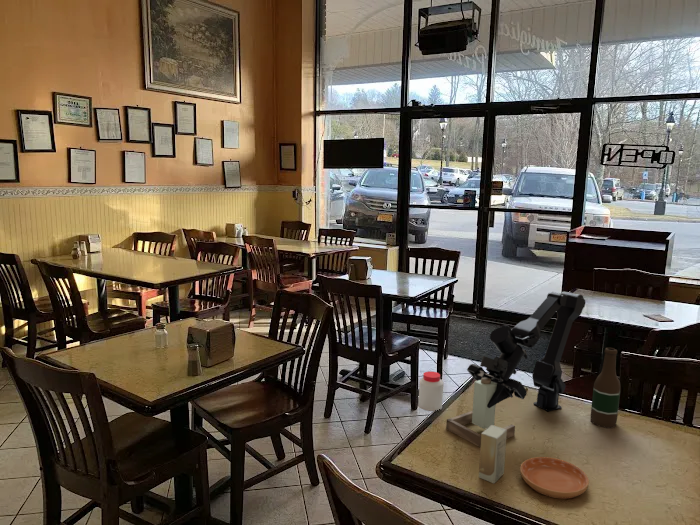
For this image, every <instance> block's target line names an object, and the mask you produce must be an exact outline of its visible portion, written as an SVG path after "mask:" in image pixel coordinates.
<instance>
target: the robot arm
mask: <svg viewBox="0 0 700 525" xmlns="http://www.w3.org/2000/svg"><path fill="white" fill-rule="evenodd" d="M585 306H586V300H585V298H584V296H583V295H582V294H580V293H573V292H570V291H569V292H568V291H564V290H562V291H561V292H555V291H552V292H551V291H550V292H548V294H547V295H546V298H545V299H544V300H543V301H542V303H541V304H539V306H538V307H537V308H536V309H535V311H534V312H533V313H532V314H531V315H530V316H529V317H528V318H527V319H524V320H521V321H519V322H518V323H517V324H516V325H514V326H513V328H511V327H510V326H509V325H507V324H502V325H501V326H500V327H497V328H495V329H493V330H492V331H491V332H490V335H489V339H490V341H491V342H492V344H493V345H494V346H495V348H496V349H497V350H498V352H499V353H501V354H500V355H499V357H497V356H496V357H494V358H490V357H488V356H485V355H483V357H482V359H481V362H480V365H477V364H474V363H470V364H469V366H468V367H467V369H466V370H467V372H468V373H469V375H471V377H472V378H473V380H475V381H478V380H481V378H489V379H491V381H492V382H495V383H497V388H496V391H495V393H494V394H493V396H492V397H491V399H490V401H489V403H488V405H487V407H488V408H491V407H492V406H494V405H496V406H497V404H499V403H500V402H503V401H506V400H507V399H509V398H511V399H512V398H514V396H515V397H516V398H519V399H521V400H525V398H526V396H527V393H528V392H527V389H526V388H525V386H524V385H523V384H522V381H519V380H516V379H514V378H511V377H512V375H516V374H517V370H516V369H517V367H518V366H519V365H520V362H521V360H522V359H524V360H527V359H528V354H527V349H525V348H529V349H531V348H533V347H535V345H536V344H537V343H538V341H539V340H540V339H541V331H542V329H543V328H544V327H545V326H546V324H547V323H548V322H549V321H550V320H551V319H552V318H553V316H554V315H555V314H556V315H557V318H556V320H555V323H554V326H553V330H552V333H551V335H550V338H549V342H548V344H547V348H546V352H545V355H544V357H543V358H542V359H541V360H536V362H535V366H534V368H533V370H532V381H533V386H534V387H537V390H538V392H537V397H536V401H535V402H533V405H535V407H536V406H537V407H538V408H541V409H543V410H544V411H546V412H551V411H555V410H559V409H562V408H563V407H562V405H560V404H559V399H560V398H559V396H560V394H561V395H563V393H564V392H565V390H566V386H567V385H566V383H565V382H564V381H563V379H562V376H563V375H562V374H563V370H562V366H561V364H560V363H561V360H562V357H563V354H564V351H565V347H566V345H567V341H568V338H569V335H570V332H571V329H572V325H573V323H574V321H575V320H577V318H578V317H580V316H581V314H582V312H583V310H584V308H585ZM523 347H525V348H523ZM483 367H484V368H485V369H484V368H483ZM485 370H486V371H487V372H486V371H485ZM513 394H514V395H513Z"/></svg>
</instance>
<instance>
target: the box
mask: <svg viewBox="0 0 700 525" xmlns="http://www.w3.org/2000/svg"><path fill="white" fill-rule="evenodd" d="M472 413H473V410H470V411H467V412H465V413H462V414H458V415H456V416H453V417H450V418H447V419H446V424H445V425H446V426H445V430H447V431H449V432H451V433H452V434H455V435H457V436H458V437H460V438H462V439H464V440H465V441H468V442H470V443H471V444H473V445H475V446H477V447H478V448H481V433H478V432H476V431H474V430H472V429H471V428H469V427H467V426H466V425H468V424H472ZM502 428H503V429H506V430H507V435H506V440H507V439H509V438H513V436H515V432H516V430H515V429H516V426H515V425H514V424H510V425H507V426H504V427H502Z"/></svg>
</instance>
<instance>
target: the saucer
mask: <svg viewBox="0 0 700 525" xmlns="http://www.w3.org/2000/svg"><path fill="white" fill-rule="evenodd" d="M519 470H520V475H521V476H520V477H521V478H522V479H523V480H524V482H525V483H526V484H527V485H528V486H529V487H530V488H531V489H533V490H534V491H536V492H537V493H540V494H541V495H544V496H547V497H550V498H554V499H559V500H560V499H561V500H563V499H566V500H567V499H573V498H575V497H578V496H580V495H583V494H584V493H585V492H586V491H587V490H588V488H589V484H590V480H589V477H588V475H587V474H586V473H585V471H583V469H581V468H580V467H579V466H577V465H575V464H573V463H570V462H568V461H566V460H562V459H561V458H560V459H559V458H555V457H549V456H548V457H547V456H546V457H545V456H537V457H531V458H528V459H526V460H524V461H523V462H522V463H521V464H520V468H519Z"/></svg>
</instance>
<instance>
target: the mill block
mask: <svg viewBox="0 0 700 525" xmlns="http://www.w3.org/2000/svg"><path fill="white" fill-rule="evenodd" d="M473 384H474V385H473V398H472V399H473V400H472V411H473V413H472V422H471V424H473V425H475V426H477V427H479V428H481V429H483V430H486V429H487V428H488V427H489V426H491V425H494V426H495V421H496V420H495V419H496V418H495V417H496V408H497V404H496V405H494V406H492V407H491V408H488V407H487V405H488V403H489V401H490V399H491V397H492V396H493V394H494V393H495V391H496V388H497V383H495V382H492V381H491V379H489V378H481V380H478V381H477V380H475V381H474V382H473Z"/></svg>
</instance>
